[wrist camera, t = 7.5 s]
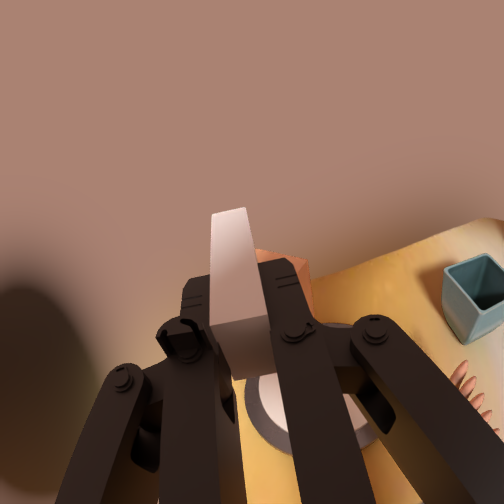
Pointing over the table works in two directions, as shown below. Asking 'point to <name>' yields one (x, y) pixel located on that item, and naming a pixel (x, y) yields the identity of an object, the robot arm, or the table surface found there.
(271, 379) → the dial
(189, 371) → the robot arm
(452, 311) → the flower pot
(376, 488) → the table surface
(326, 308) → the table surface
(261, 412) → the base
